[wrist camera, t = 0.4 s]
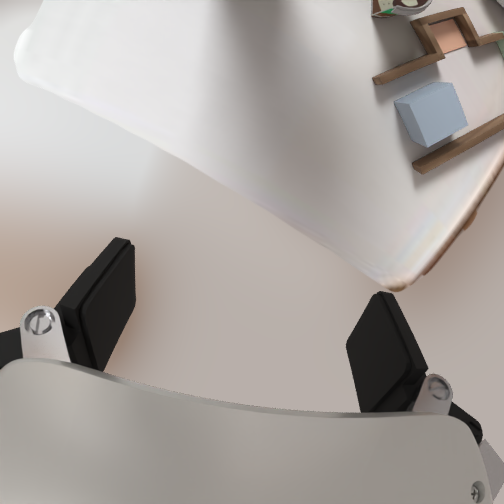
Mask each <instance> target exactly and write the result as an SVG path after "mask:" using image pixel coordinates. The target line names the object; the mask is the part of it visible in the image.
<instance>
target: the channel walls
mask: <svg viewBox="0 0 504 504" xmlns="http://www.w3.org/2000/svg"><path fill="white" fill-rule="evenodd" d="M450 17H454V19H455V21H456V23H457V24H458V26H459V28H460V30H461V32H462V34H463V36H464V38H465V40H466V42H467V44H468V46H469V47H476V46H481V45H484V44H488V43H491V42H494V41H497V40H501V39H504V35H503V33H502V32H499V33H491V34H487V35H484V36H480V37H479V36H478V34H477V32H476V30H475V28H474V26H473V24H472V22H471V20H470V18H469V16H468V15H467V13H466V11H465V9H464V7H461V8H457V9H452V10H448V11H444V12H440V13H436V14H433V15H429V16H425V17H422V18H419V19H416V20H413V21H411V22H410V23H411V25H412V27H413V28H414V30H415V32H416V34H417V35H418V37H419V39H420V41H421V42H422V44H423V46H424V48H425V50H426V52H427V55H425V56H422V57H419V58H417V59H414V60H412V61H409V62H407V63H405V64H402V65H400V66H397V67H395V68H393V69H390V70H388V71H386V72H384V73H381V74H379V75H377V76H375V77H373V78H372V79H373V81H374V82H375V84H376V85H381V84H385V83H387V82H390V81H392V80H394V79H396V78H399V77H401V76H403V75H405V74H408V73H410V72H412V71H415V70H417V69H419V68H422V67H424V66H427V65H429V64H432V63H434V62H437V61H439V60H442V59H445V56H444V54H443V52H442V50H441V48H440V46H439V44H438V42H437V40H436V38H435V36H434V34H433V33H432V31H431V29H430V27H429V25H428V23H432V22H435V21H439V20H442V19H446V18H450ZM503 129H504V114H502V115H500V116H498V117H496V118H495V119H493V120H491V121H489V122H487V123H485V124H483V125H482V126H480V127H478V128H476V129H474V130H472V131H470V132H469V133H467V134H465V135H463V136H461V137H459V138H457V139H456V140H454V141H452V142H450V143H448V144H446V145H445V146H443V147H441V148H439V149H437V150H435V151H433V152H432V153H430V154H428V155H426V156H424V157H422V158H420V159H419V160H417V161H415V162H413V163H412V165H413V167H414V170H416V171H418V172H419V173H421V174H422V175H423V174H425V173H426V172H428V171H430V170H432V169H434V168H435V167H437V166H439V165H441V164H443V163H444V162H446V161H448V160H450V159H452V158H453V157H455V156H457V155H459V154H460V153H462V152H464V151H466V150H467V149H469V148H471V147H473V146H475V145H476V144H478V143H480V142H482V141H483V140H485V139H487V138H489V137H490V136H492V135H494V134H496V133H497V132H499V131H501V130H503Z"/></svg>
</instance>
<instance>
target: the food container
mask: <svg viewBox="0 0 504 504" xmlns="http://www.w3.org/2000/svg"><path fill="white" fill-rule="evenodd" d="M431 2H432V0H371V16H373V17H377V18H385V17H390V16H393V15H397V14H398V15H415V14H418V13H421V12H422V11H424V10H425V9H426V8H427V7H428V6H429V5H430V4H431Z"/></svg>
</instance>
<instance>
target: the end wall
mask: <svg viewBox="0 0 504 504" xmlns="http://www.w3.org/2000/svg"><path fill="white" fill-rule="evenodd" d="M494 33H499V32H494ZM502 33H503V35H504V32H502ZM496 42H497V44H498V46H499V48H500V51H501V53H502V56H503V58H504V39H501V40H497V41H496Z"/></svg>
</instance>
